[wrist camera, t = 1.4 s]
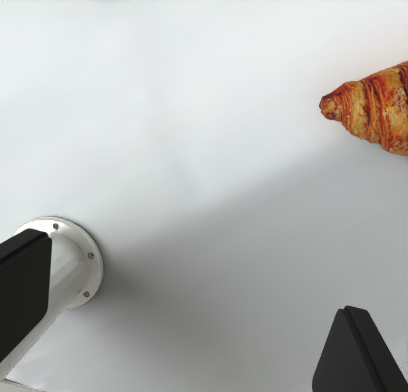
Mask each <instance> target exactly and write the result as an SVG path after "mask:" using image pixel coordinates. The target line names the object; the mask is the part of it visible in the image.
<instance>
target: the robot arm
mask: <svg viewBox="0 0 408 392" xmlns="http://www.w3.org/2000/svg"><path fill="white" fill-rule="evenodd" d="M103 269H104V266H103V260H102V256H101V254H100V251H99V249H98V247H97V245H96V244H95V242H94V240H93V239H92V238H91V237H90V236H89V234H88V233H87V232H85V231H84V230H83V229H82V228H81V227H79V226H77V225H76V224H74V223H72V222H70V221H68V220H65V219H62V218H57V217H40V218H36V219H33V220H31V221H29V222H27V223H25V224H24V225H22V226H20V227H19V228H18V229H17V230H16V231H15V232H14V234H13V235H12V237H11V238H10V239H8V240H6V241H4V242H3V243H1V244H0V392H45V391H42V390H38V389H34V388H31V387H27V386H23V385H20V384H16V383H12V382H8V381H5V380H3V379H4V378H5V377H6V376H7V375H8V373H9V372H10V371H11V370H12V369H13V368H14V367H15V366H16V364H17V363H18V362H19V361H20V360H21V359H22V358H23V357H24V355H25V354H26V353H27V352H28V351H29V350H30V349H31V347H32V346H33V345H34V344H35V343H36V342H37V341H38V340H39V338H40V337H41V336H42V335H43V334H44V333H45V332H46V330H47V329H48V328H49V327H50V326H51V325H52V324H53V323H54V321H55V320H56V319H57V318H58V317H59V316H60V315H61V313H62V312H63V311H64V310H67V309H74V308H76V307H79V306H81V305H83V304H85V303H86V302H88V301H89V300H90V299H91V298H92V297H93V296H94V294H95V293H96V292H97V290H98V289H99V287H100V285H101V283H102V278H103ZM312 390H313V392H408V383H407V381H406V380H405V378H404V376H403V374H402V372H401V371H400V369H399V367H398V365H397V363H396V362H395V360H394V358H393V356H392V354H391V352H390V351H389V349H388V347H387V345H386V343H385V342H384V340H383V338H382V336H381V334H380V332H379V331H378V329H377V327H376V325H375V323H374V322H373V320H372V318H371V316H370V314H369V313H368V311H367V310H364V309H360V308H356V307H352V306H348V305H347V306H345V308H344V309H338V311H337V313H336V316H335V318H334V321H333V324H332V327H331V329H330V332H329V335H328V338H327V340H326V343H325V346H324V349H323V351H322V354H321V357H320V360H319V362H318V365H317V368H316V371H315V373H314V376H313V381H312Z"/></svg>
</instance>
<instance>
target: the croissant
mask: <svg viewBox="0 0 408 392" xmlns="http://www.w3.org/2000/svg"><path fill="white" fill-rule="evenodd" d="M319 107H320V109H321V113H322V114H323V115H324V116H325V118H327V119H329V120H336V121H338V122H342V124H343V126H344V127H345V128H346V130H347V131H349V132H350V133H351V134H352V135H354V136H357V137H359V138H360V139H365V140H367V141H369V142H370V143H378V144H381V148H383V149H384V150H386V151H388V152H390V153H393V154H398V155H405V156H408V61H405V62H402V63H400V64H398V65H396V66H393V67H391V68H388V69H385V70H382V71H379V72H377V73H374V74H371V75H370V76H368V77H366V78H364V79H362V80H360V81H359V82H358V81H350V82H346V83H344V84H343V85H341V86H340V87H339V88H337V89H336V90H334V91H333V92H332V93H330V94H327V95H326V96H323V97H322V99H321V102H320V104H319Z"/></svg>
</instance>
